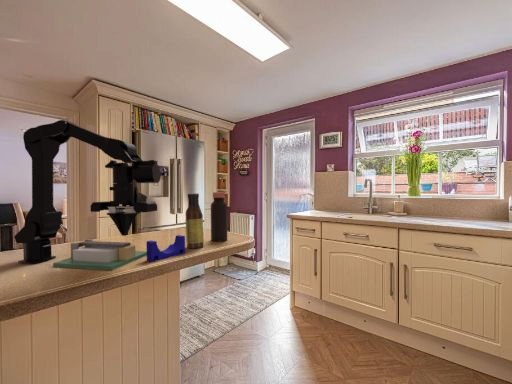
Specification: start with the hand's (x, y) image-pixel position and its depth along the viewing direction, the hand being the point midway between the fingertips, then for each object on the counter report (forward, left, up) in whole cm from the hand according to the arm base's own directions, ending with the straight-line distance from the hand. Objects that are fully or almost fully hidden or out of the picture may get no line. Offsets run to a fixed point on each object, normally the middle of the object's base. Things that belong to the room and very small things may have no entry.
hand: (124, 235), depth 76 cm
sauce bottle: (+13, +21, -8) cm, 26 cm away
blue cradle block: (+9, +7, -8) cm, 14 cm away
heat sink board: (-7, 0, -8) cm, 11 cm away
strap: (-7, 0, -4) cm, 8 cm away
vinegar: (+18, +34, -8) cm, 39 cm away
